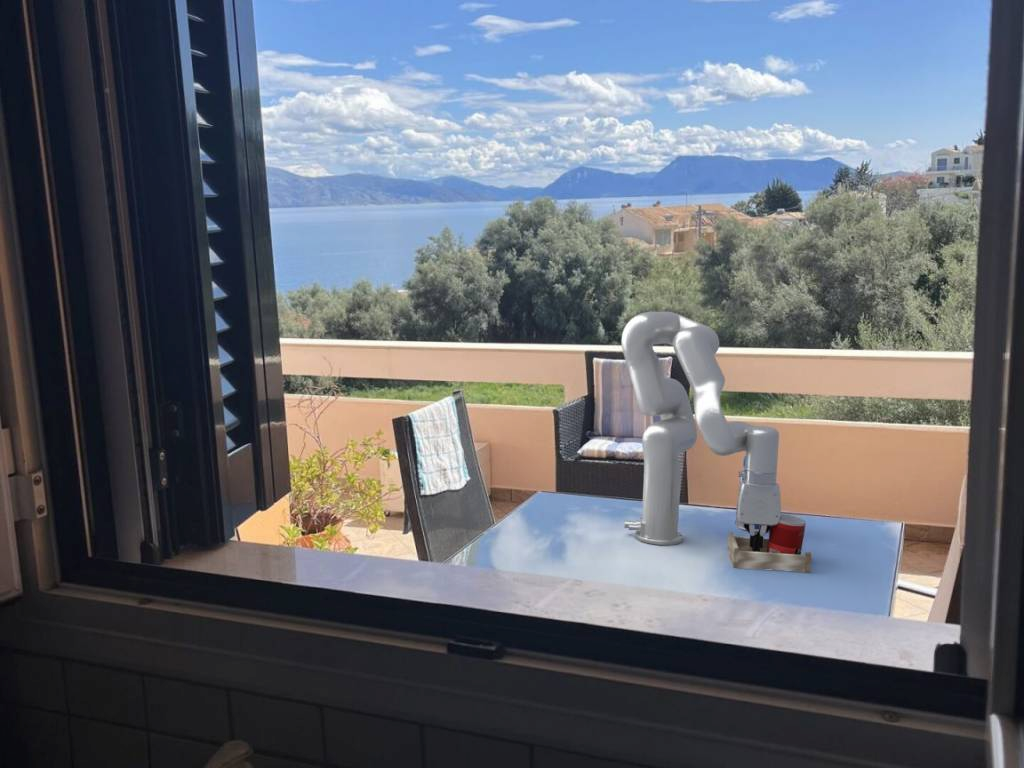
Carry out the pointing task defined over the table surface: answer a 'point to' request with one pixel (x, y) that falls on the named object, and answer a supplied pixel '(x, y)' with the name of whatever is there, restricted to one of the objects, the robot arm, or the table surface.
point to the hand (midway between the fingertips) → (755, 550)
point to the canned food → (787, 535)
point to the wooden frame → (764, 557)
